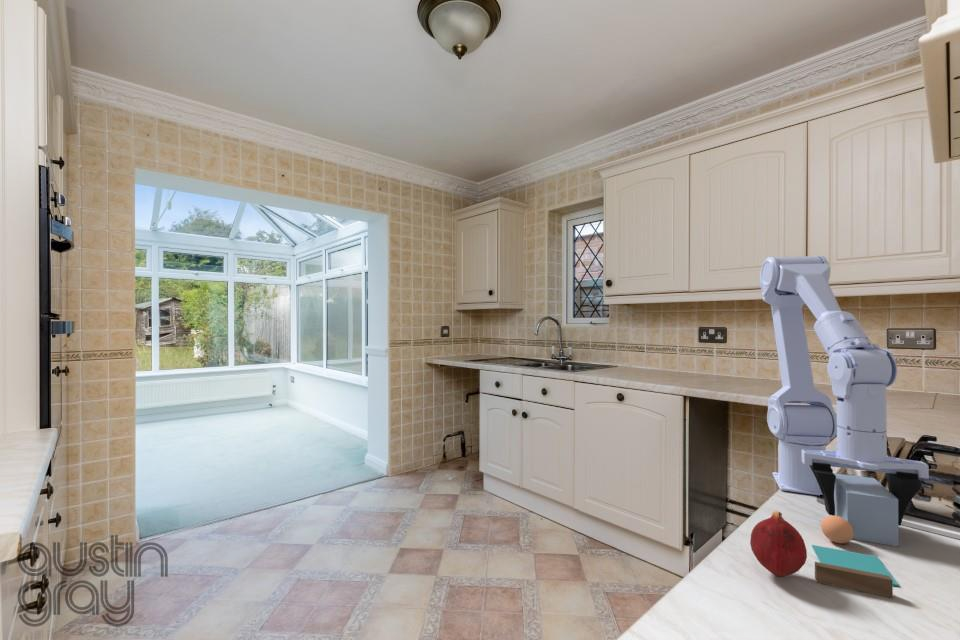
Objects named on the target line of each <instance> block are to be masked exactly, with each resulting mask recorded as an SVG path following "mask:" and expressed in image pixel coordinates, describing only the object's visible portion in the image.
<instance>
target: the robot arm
mask: <svg viewBox="0 0 960 640" xmlns="http://www.w3.org/2000/svg"><path fill="white" fill-rule="evenodd" d="M830 276H831V266H830V263H829V261H828V260H827V258H826V257H825V256H824V255H823V254H822V255H819V254H818V255H816V254H815V255H808V256H805V255H804V256H778V257H775V256H768V257H767V258H766V259H765V260H764V261H763V263H762V264H761V268H760V272H759V283H760V284H759V285H760V290H761V291H760V293H761V295H762V301H763V302H765V303H766V304H768V305H770V309H771V316H772V323H773V330H774V337H775V343H776V352H777V357H778V365H779V372H780V373H779V374H780V379H781V386H782V387H781V388H780V389H779V390H777V391H776V392H775V393H773V394H771V396H769V398H768V399H767V413H766V421H767V427H768V429H769V430H770V433H771V434H772V435H774V436H775V437H776V438H777V439H778V445H777V452H778V453H777V462H778V463H777V468H778V470H777V471H778V472H776V471H773V472H772V474H771V475H772V476H773V478H774V479H775V482H776V484H777V485H778V488H779V489H780V490H781V488H782V487H783V486H784V485H785V484H786V483H787V485H786V486H784V487H783V488H782V490H781V491H785V492H790V493H791V492H792V493H800V494H806V495H807V494H808V495H815V496H820V494H822V495H823V496H822V498H823V501H824V507H825V511H826V513H827V514H828V516H832V515H834V516H835V501H834V488H835V479H836V476H835V474H836V473H835V474H834V470H833V468H839V469H851V470H857V471H858V470H859V471H869V472H877V473H884V474H885V473H886V478H887V480H886V481H887V486H888V487H887V488H888V491H889V492H890V493H892V494H893V495H894V496H895V497H896V498H897V499H898V527H899V526H902V522H903V518H904V516H905V513H906V510H907V509H908V506H909V505H910V503H911V501H912V499H913V498H914V497H915V496H916V495H917V494H918V492H919V491H920V490H922V486H923V482H922V481H921V480H920V479H919V478H921V479H930V476H929V475H930V474H929V473H930V469H929V464H927V463H925V462H923V461H921V460H920V461H919V460H913V459H905V458H900V457H899V458H898V457H892V456H888V451H887V450H888V447H887V446H888V444H887V443H888V437H887V435H888V434H887V433H888V432H887V430H888V429H887V427H888V425H887V419H888V417H887V387H889V386H892V385H893V384H894V382H895V381H896V380H897V377H898V365H897V361H896V359H895V358H894V355H893V352H891V351H890V350H889V349H887V348H884V347H881V346H880V345H879V344H877V343H873V342H872V341H871V340H870V337H869V336H868V335H867V333H866V331H865V330H864V328H863V327H862V326H861V324H860V322H859V321H858V319H857V318H856V316H855V315H854V314H853V313H852V312H848V311H844V310H842V309H841V307H840V305H839V303H838V302H839V301H837V299H836V296H835V294H834V292H833V290H832V288H831V286H830V284H829V282H830V278H831V277H830ZM804 305H806V307H808V309H809V310H810V312H811V313H812V314H813V316H814V318H815V319H816V321H815V322H814V325H813V331H814V332H815V334H816V337H817V338H818V340H819V341H820V343H821V346H822V347H823V349H824V351H825V353H826V355H827V356H828V358H829V359H828V363H827V364H826V372H827V376H828V378H829V380H830V383H831V392H832V394H833V396H835V397H836V412H835V410H834V407H833V402H832V400H831V399H832V398H831V397H829V396H828V395H827V394H825V393H823V392H822V391H821V390H819V389H817V388H816V387H815V383H814V377H813V371H812V364H811V357H810V351H809V345H808V339H807V333H806V328H805V327H806V326H805V322H804V315H803V307H804ZM835 437H836V450H827V445H828V444H829V445H830V444H831V440H832V439H834V438H835ZM832 467H833V468H832Z"/></svg>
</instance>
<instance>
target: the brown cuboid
mask: <svg viewBox="0 0 960 640" xmlns="http://www.w3.org/2000/svg"><path fill="white" fill-rule="evenodd" d="M814 579H815V581H816V583H819V584H824V585H828V586H834V587H837V588H838V587H839V588H843V589H848V590H853V591H858V592H863V593H867V594H872V595H876V596H882V597H886V598H891V599H892V598H894V597H893V595H894V594H893V591H894V590H893V587H894V586H893V580H892V579H891V578H890V576H887V575H882V574H877V573H872V572H867V571H861V570H856V569H851V568H846V567H840V566H835V565H830V564H825V563H820V561H819V562H818V561H814Z"/></svg>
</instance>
